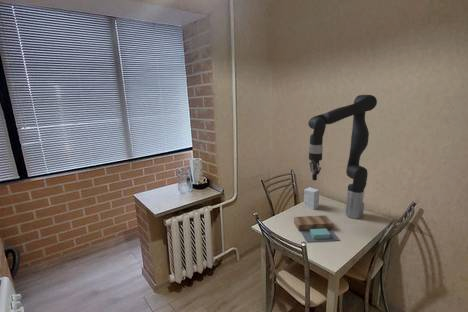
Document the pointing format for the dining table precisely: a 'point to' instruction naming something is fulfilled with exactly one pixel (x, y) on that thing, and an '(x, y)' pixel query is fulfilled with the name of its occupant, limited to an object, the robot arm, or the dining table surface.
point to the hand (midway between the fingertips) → (314, 179)
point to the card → (319, 233)
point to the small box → (311, 198)
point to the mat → (310, 239)
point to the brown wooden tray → (313, 223)
